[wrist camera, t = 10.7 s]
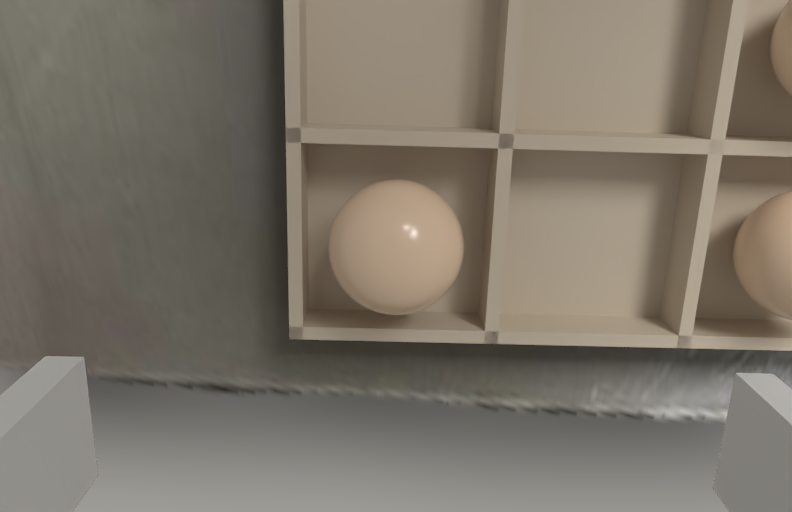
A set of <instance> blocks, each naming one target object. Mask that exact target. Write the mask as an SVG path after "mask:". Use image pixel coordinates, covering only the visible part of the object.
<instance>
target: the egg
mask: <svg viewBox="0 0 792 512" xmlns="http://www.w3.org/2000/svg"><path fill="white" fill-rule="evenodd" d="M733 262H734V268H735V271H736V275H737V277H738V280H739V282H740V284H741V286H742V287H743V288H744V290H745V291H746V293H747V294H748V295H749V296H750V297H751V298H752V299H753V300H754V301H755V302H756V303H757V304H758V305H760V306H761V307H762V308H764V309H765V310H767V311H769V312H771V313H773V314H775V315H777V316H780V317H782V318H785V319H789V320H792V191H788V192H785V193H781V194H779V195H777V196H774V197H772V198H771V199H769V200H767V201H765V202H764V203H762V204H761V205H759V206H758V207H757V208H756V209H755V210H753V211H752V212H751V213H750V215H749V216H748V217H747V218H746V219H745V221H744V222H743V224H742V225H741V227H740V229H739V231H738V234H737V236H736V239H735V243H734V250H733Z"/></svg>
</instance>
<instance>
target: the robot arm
mask: <svg viewBox="0 0 792 512" xmlns="http://www.w3.org/2000/svg"><path fill="white" fill-rule="evenodd" d="M97 476H98V470H97V461H96V453H95V445H94V436H93V428H92V420H91V411H90V402H89V394H88V386H87V377H86V369H85V360H84V357H68V356H45V357H44V358H43V359H41V360H40V361H39V362H38V363H37V364H36V365H35V366H33V367H32V368H31V369H30V370H29V371H28V372H26V373H25V374H24V375H23V376H22V377H21V378H20V379H18V380H17V381H16V382H15V383H14V384H13V385H11V386H10V387H9V388H8V389H7V390H6V391H5V392H3V393H2V394H1V395H0V512H73V511H74V509H75V508H76V506H77V505H78V503H79V502H80V501H81V499H82V498H83V496H84V495H85V493H86V492H87V490H88V489H89V488H90V486H91V485H92V483H93V482H94V481H95V479H96V478H97ZM713 490H714V491H715V493H716V494H717V496H718V497H719V498H720V500H721V501H722V502H723V504H724V505H725V506H726V508H727V509H728V510H729V512H792V389H791V388H790V387H788V386H787V385H786V384H785V383H784V382H782V381H781V380H780V379H779V378H778V377H776V376H775V375H774V374H763V373H735V378H734V384H733V389H732V394H731V399H730V404H729V409H728V414H727V419H726V424H725V429H724V434H723V439H722V444H721V449H720V454H719V459H718V464H717V469H716V475H715V480H714V485H713Z"/></svg>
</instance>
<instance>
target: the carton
mask: <svg viewBox="0 0 792 512" xmlns="http://www.w3.org/2000/svg"><path fill="white" fill-rule="evenodd" d="M788 1H789V0H283V8H284V65H285V121H286V177H287V234H288V290H289V339H301V340H344V341H388V342H431V343H475V344H518V345H562V346H605V347H649V348H693V349H736V350H780V351H792V320H789V319H785V318H782V317H780V316H777V315H775V314H773V313H771V312H769V311H767V310H765V309H764V308H762V307H761V306H760V305H758V304H757V303H756V302H755V301H754V300H753V299H752V298H751V297H750V296H749V295H748V294H747V293H746V291H745V290H744V288H743V287H742V286H741V284H740V282H739V280H738V277H737V275H736V271H735V268H734V262H733V250H734V243H735V239H736V236H737V234H738V231H739V229H740V227H741V225H742V224H743V222H744V221H745V219H746V218H747V217H748V216H749V215H750V213H751V212H752V211H753V210H755V209H756V208H757V207H758V206H759V205H761V204H762V203H764V202H765V201H767V200H769V199H771V198H772V197H774V196H777V195H779V194H781V193H785V192H788V191H792V96H791V95H790V94H789V93H788V92H787V91H786V90H785V89H784V88H783V87H782V86H781V84H780V82H779V81H778V79H777V77H776V75H775V73H774V70H773V66H772V63H771V56H770V45H771V37H772V33H773V29H774V27H775V24H776V21H777V19H778V17H779V15H780V13H781V12H782V10H783V9H784V7H785V5H786V4H787V3H788ZM390 179H401V180H409V181H413V182H417V183H420V184H422V185H425V186H427V187H429V188H430V189H432V190H434V191H435V192H436V193H438V194H439V195H440V196H441V197H442V198H443V199H445V201H446V202H447V203H448V204H449V205H450V207H451V208H452V209H453V211H454V213H455V214H456V216H457V218H458V220H459V223H460V225H461V229H462V233H463V239H464V256H463V262H462V265H461V269H460V271H459V274H458V276H457V278H456V280H455V282H454V284H453V285H452V287H451V288H450V289H449V290H448V292H447V293H446V294H445V295H444V296H443V297H442V298H441V299H439V300H438V301H437V302H435V303H434V304H432V305H431V306H429V307H427V308H425V309H423V310H421V311H418V312H415V313H411V314H405V315H387V314H382V313H378V312H375V311H372V310H369V309H367V308H365V307H363V306H362V305H360V304H358V303H357V302H355V301H354V300H353V299H352V298H351V297H349V296H348V295H347V293H346V292H345V291H344V290H343V289H342V287H341V286H340V285H339V283H338V281H337V279H336V277H335V275H334V273H333V270H332V268H331V265H330V260H329V252H328V244H329V235H330V230H331V226H332V224H333V221H334V219H335V217H336V215H337V213H338V211H339V210H340V209H341V207H342V206H343V204H344V203H345V202H346V201H347V200H348V199H349V198H350V197H351V196H352V195H353V194H355V193H356V192H357V191H359V190H360V189H362V188H364V187H366V186H368V185H370V184H372V183H376V182H379V181H384V180H390Z"/></svg>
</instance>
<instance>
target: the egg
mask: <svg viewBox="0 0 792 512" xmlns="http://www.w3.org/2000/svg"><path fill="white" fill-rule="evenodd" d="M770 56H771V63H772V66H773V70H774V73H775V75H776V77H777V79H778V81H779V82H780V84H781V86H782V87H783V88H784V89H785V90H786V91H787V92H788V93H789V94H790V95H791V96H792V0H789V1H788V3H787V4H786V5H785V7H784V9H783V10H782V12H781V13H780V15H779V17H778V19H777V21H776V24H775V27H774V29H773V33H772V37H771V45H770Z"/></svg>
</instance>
